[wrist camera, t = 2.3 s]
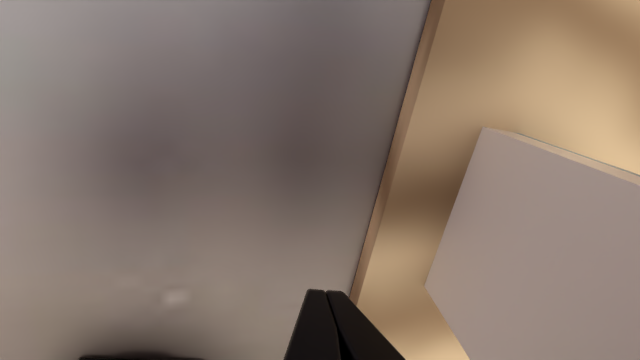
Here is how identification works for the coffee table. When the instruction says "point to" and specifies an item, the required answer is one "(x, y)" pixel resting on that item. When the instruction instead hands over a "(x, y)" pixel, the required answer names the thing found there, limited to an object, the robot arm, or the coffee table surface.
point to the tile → (541, 255)
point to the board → (493, 112)
